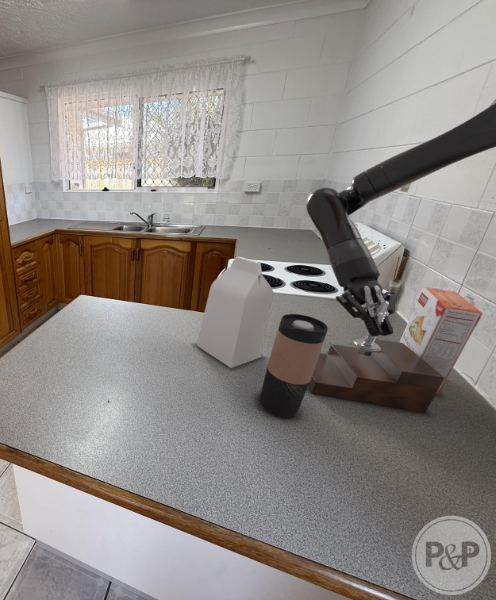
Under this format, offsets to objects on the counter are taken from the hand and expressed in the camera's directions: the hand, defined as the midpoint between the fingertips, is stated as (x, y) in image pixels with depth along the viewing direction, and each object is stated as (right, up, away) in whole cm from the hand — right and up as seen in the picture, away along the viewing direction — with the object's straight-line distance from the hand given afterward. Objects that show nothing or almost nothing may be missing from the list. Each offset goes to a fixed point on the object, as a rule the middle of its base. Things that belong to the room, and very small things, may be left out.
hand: (382, 334), depth 66 cm
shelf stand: (-1, -12, +7) cm, 14 cm away
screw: (0, -5, +4) cm, 6 cm away
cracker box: (+17, -11, +11) cm, 23 cm away
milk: (-25, -7, +19) cm, 32 cm away
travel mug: (-23, -15, 0) cm, 27 cm away
